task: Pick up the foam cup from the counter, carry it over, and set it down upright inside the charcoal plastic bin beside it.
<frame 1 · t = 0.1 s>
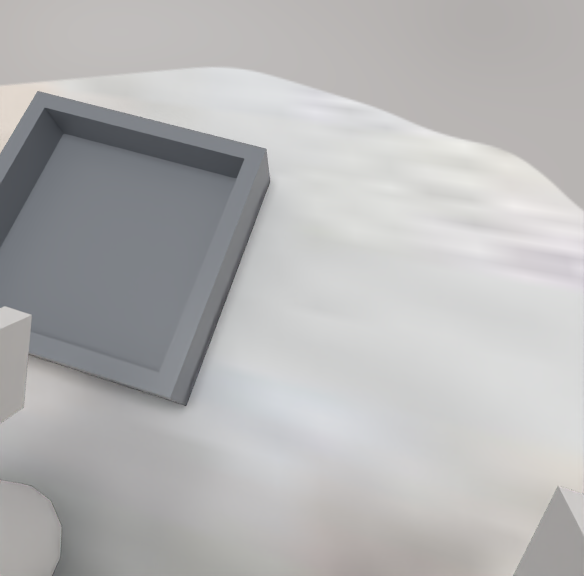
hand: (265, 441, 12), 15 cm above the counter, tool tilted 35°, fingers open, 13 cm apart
foam cup: (2, 548, 25), on the counter
bin: (118, 251, 30), on the counter
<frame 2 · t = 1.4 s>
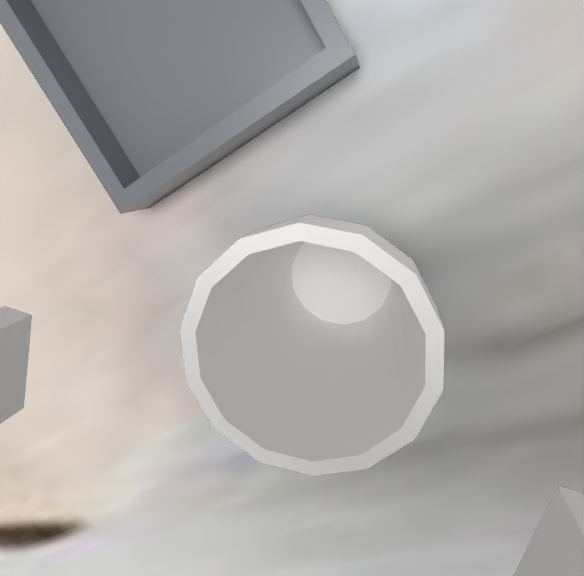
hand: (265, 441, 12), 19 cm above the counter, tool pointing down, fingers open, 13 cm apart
foam cup: (342, 273, 30), on the counter
bin: (178, 24, 28), on the counter
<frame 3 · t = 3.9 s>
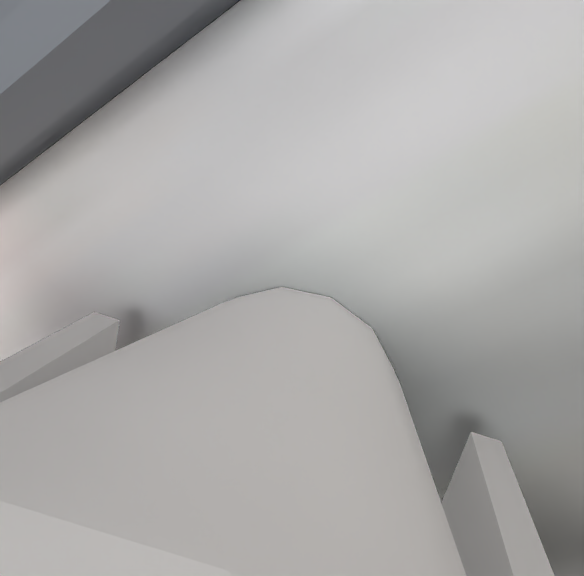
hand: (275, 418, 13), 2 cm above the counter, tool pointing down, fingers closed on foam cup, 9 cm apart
foam cup: (289, 387, 15), on the counter, touching gripper
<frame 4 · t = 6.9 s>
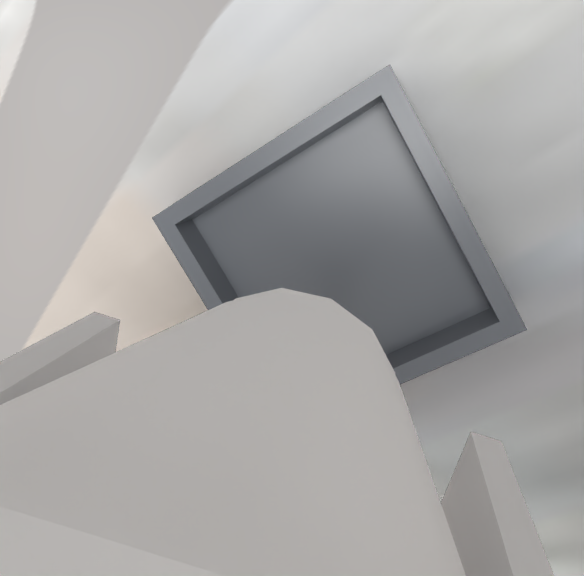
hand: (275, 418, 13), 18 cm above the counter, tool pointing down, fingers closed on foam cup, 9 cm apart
foam cup: (289, 388, 15), point 16 cm above the counter, touching gripper
bin: (337, 258, 30), on the counter
when the fingers open (5 cm above the counter, at t = 10.4 s): foam cup drops 2 cm, resting on bin.
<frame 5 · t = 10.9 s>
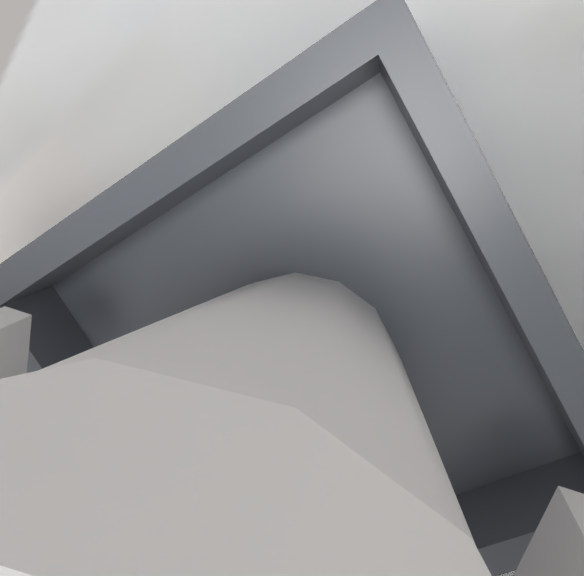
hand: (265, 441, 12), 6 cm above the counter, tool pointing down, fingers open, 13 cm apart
foam cup: (301, 362, 16), point 1 cm above the counter, touching bin
bin: (304, 351, 17), on the counter
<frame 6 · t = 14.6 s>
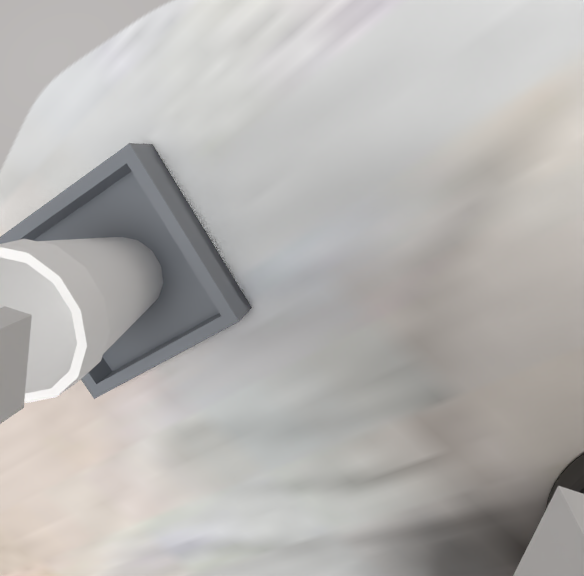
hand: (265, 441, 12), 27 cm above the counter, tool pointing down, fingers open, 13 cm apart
foam cup: (128, 274, 40), point 1 cm above the counter, touching bin
bin: (132, 271, 41), on the counter
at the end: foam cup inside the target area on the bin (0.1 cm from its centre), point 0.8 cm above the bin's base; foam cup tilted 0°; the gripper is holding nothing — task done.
